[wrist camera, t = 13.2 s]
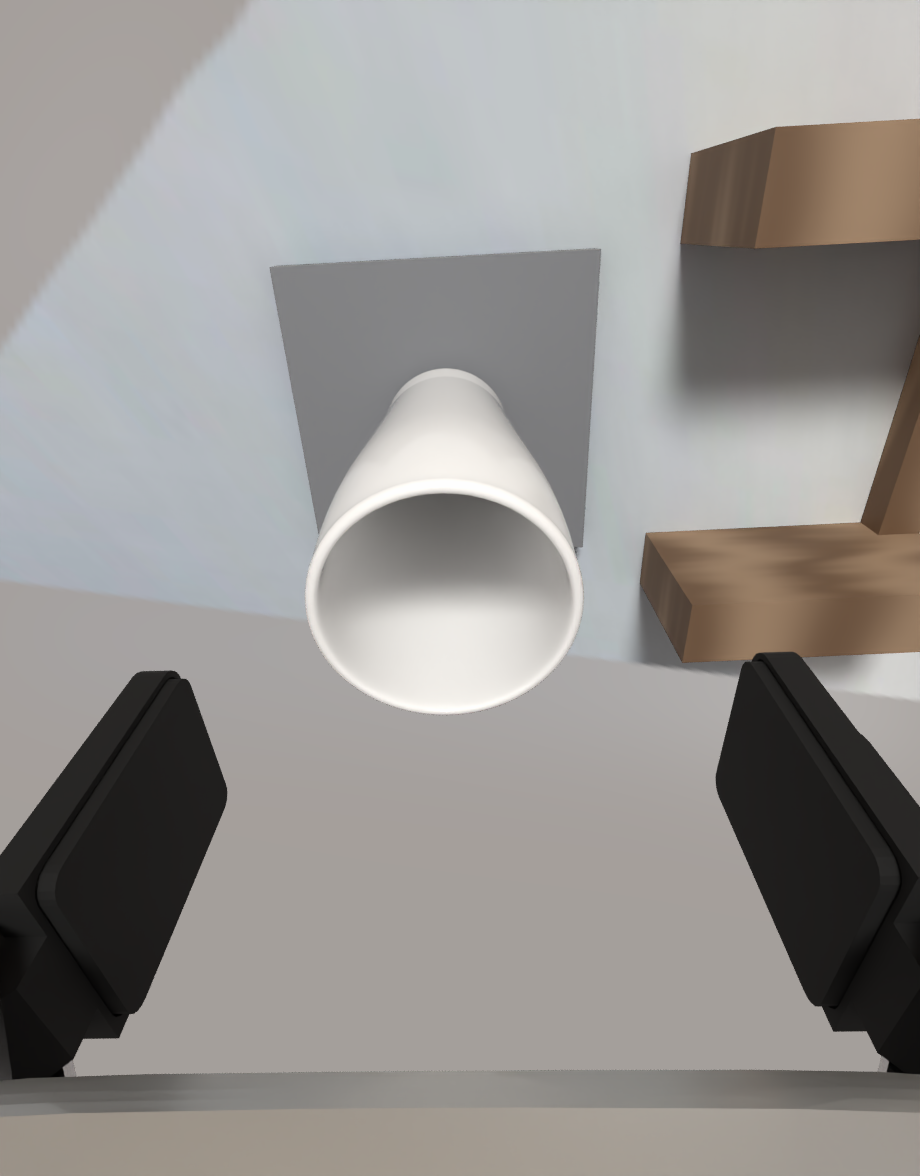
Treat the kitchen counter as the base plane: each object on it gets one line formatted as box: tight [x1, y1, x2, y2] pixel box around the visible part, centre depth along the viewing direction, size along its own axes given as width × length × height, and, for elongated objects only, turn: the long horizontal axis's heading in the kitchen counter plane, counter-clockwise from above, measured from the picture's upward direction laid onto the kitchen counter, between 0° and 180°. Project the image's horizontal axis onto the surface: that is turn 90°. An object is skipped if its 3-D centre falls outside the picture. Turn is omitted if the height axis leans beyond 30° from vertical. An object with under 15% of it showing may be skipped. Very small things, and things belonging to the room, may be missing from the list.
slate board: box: [270, 248, 601, 547], centre depth 28 cm, size 13×13×1 cm
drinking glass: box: [305, 368, 584, 715], centre depth 21 cm, size 7×7×15 cm
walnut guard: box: [640, 119, 920, 663], centre depth 25 cm, size 13×19×7 cm
